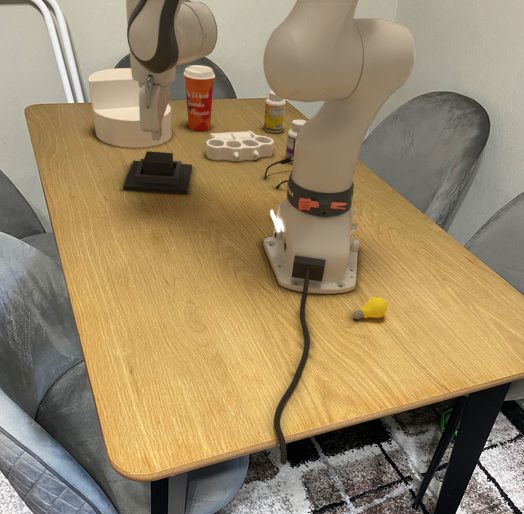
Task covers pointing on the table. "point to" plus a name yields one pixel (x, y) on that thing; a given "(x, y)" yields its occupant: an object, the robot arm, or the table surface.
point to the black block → (158, 163)
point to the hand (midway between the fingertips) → (157, 137)
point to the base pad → (159, 179)
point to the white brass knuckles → (238, 146)
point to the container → (121, 110)
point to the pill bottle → (293, 137)
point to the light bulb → (372, 309)
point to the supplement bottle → (274, 113)
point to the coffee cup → (199, 96)
